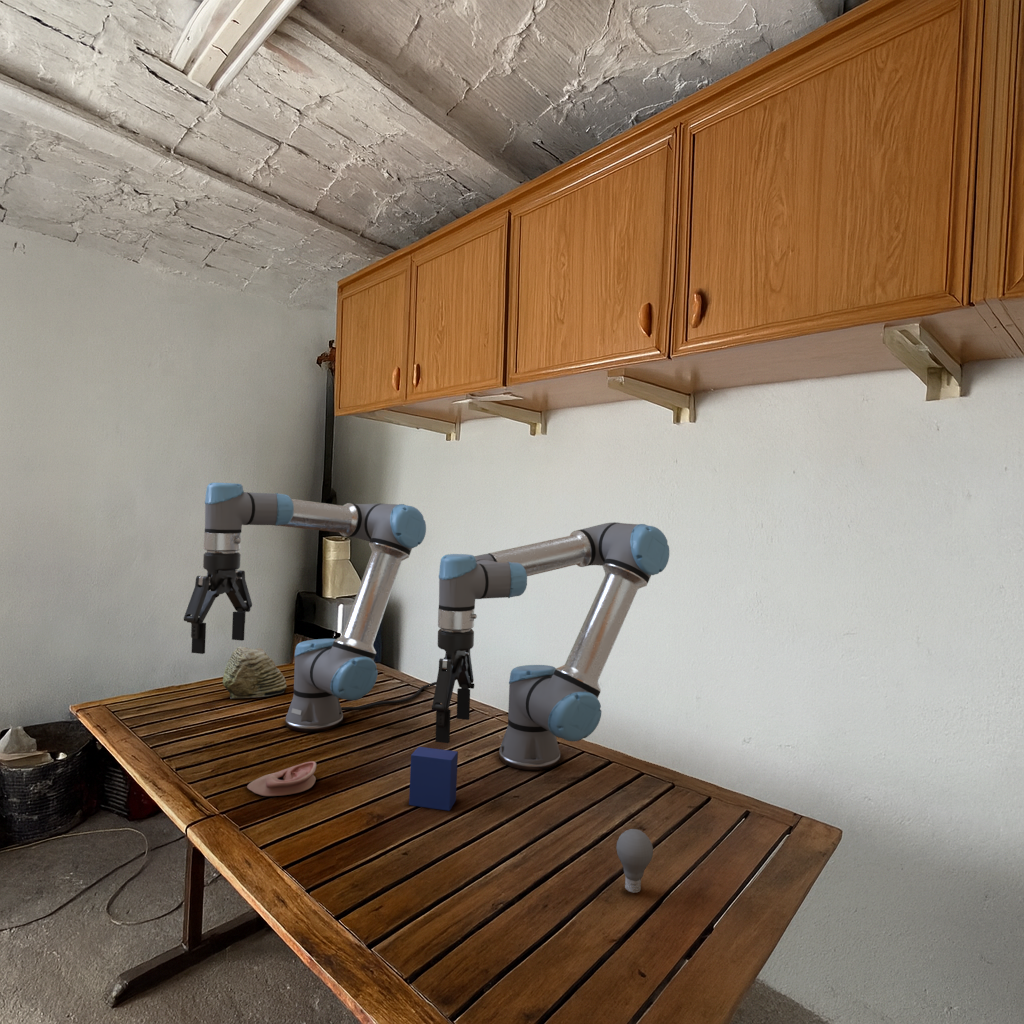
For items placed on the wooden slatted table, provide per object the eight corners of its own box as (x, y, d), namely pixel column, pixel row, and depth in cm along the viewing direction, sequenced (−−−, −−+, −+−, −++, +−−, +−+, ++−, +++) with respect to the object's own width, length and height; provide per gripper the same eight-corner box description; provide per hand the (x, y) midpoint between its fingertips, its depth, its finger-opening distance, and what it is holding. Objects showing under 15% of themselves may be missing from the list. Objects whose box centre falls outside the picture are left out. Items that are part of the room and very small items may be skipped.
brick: (408, 805, 132) (410, 754, 132) (416, 795, 136) (418, 746, 136) (449, 811, 130) (451, 760, 130) (456, 800, 135) (458, 751, 134)
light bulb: (610, 879, 108) (613, 822, 108) (644, 879, 109) (647, 822, 109) (619, 902, 102) (622, 840, 102) (655, 901, 103) (658, 840, 103)
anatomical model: (239, 773, 134) (270, 753, 145) (238, 792, 134) (269, 770, 145) (296, 782, 131) (323, 760, 142) (295, 801, 131) (323, 777, 142)
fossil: (218, 695, 195) (220, 647, 195) (278, 685, 208) (279, 640, 207) (228, 703, 189) (230, 653, 188) (289, 692, 201) (290, 645, 201)
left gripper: (198, 557, 129) (195, 661, 129) (269, 548, 153) (266, 636, 153) (166, 554, 130) (163, 657, 130) (241, 547, 155) (238, 633, 155)
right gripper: (454, 643, 119) (451, 755, 119) (489, 619, 143) (486, 712, 144) (416, 640, 120) (414, 750, 121) (457, 616, 145) (454, 708, 145)
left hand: (219, 646), depth 142 cm, fingers open, 13 cm apart
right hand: (453, 729), depth 132 cm, fingers open, 13 cm apart
